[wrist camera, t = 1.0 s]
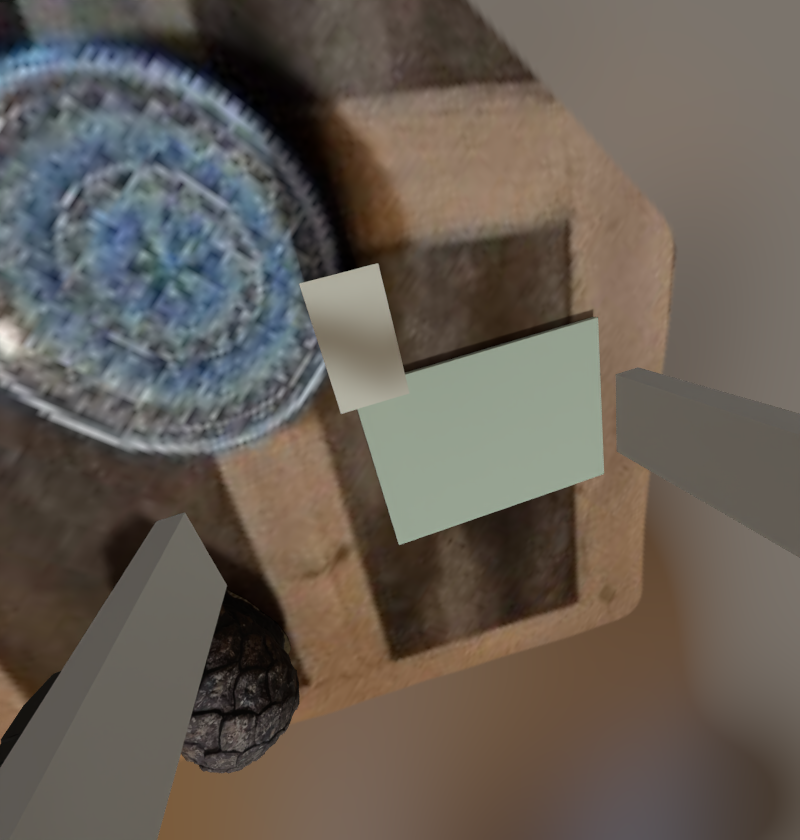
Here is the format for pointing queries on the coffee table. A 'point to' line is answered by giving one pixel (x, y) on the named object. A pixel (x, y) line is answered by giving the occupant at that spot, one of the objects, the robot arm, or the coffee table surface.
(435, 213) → the coffee table surface
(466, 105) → the coffee table surface
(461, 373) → the mat
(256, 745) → the pine cone
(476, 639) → the coffee table surface
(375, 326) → the beige rectangular block
